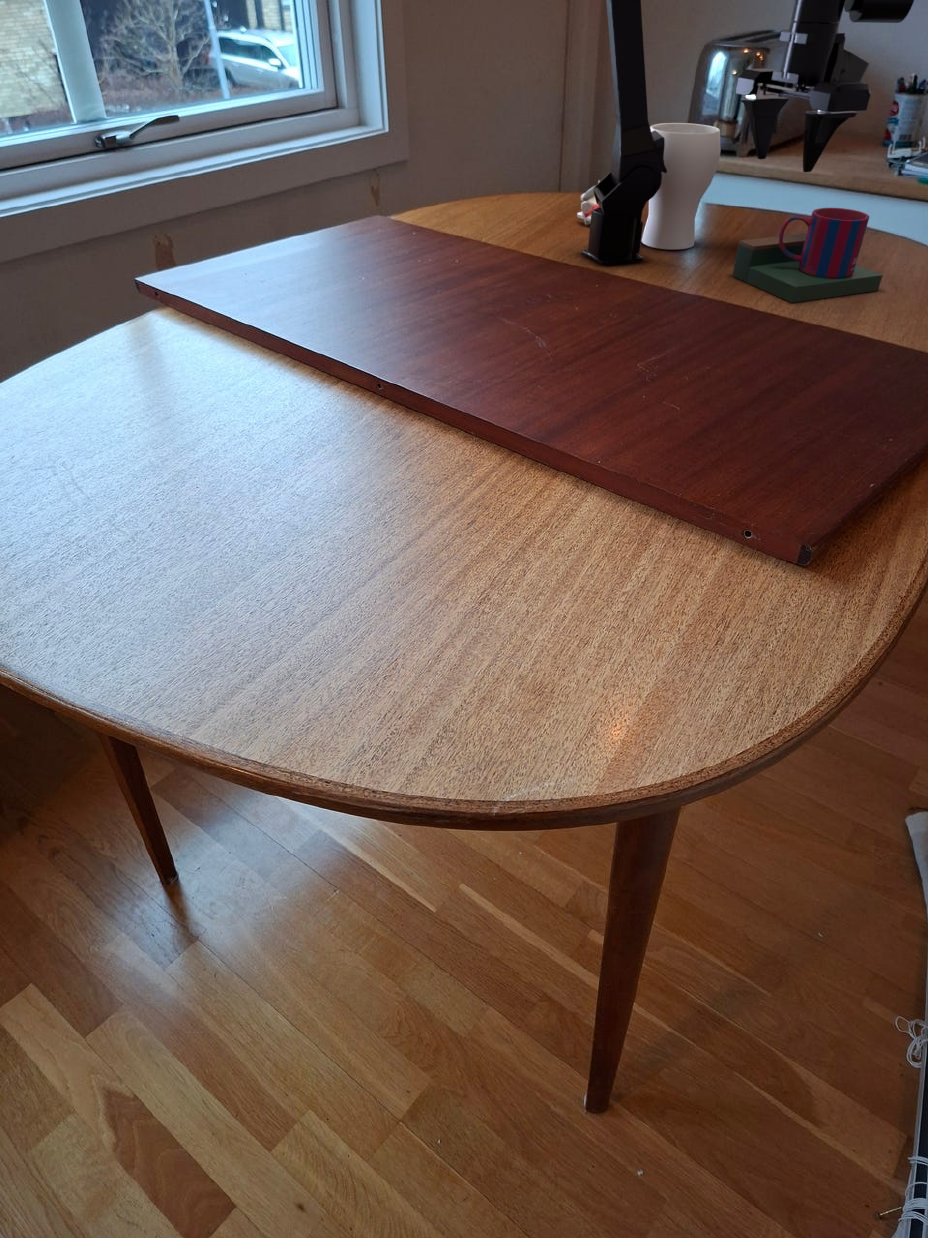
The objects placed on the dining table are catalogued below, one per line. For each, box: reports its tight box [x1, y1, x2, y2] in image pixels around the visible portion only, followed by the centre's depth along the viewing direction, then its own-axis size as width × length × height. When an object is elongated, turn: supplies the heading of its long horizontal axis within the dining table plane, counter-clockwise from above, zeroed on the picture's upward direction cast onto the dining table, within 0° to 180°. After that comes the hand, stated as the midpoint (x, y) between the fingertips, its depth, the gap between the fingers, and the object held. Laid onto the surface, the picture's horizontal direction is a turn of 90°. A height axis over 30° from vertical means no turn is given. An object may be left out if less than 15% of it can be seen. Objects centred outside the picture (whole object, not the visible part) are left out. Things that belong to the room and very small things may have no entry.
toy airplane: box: [576, 180, 601, 226], centre depth 133 cm, size 9×9×6 cm
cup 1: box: [641, 122, 722, 251], centre depth 122 cm, size 11×11×15 cm
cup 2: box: [778, 207, 870, 278], centre depth 107 cm, size 7×10×7 cm
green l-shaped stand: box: [732, 232, 883, 304], centre depth 110 cm, size 14×12×4 cm
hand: (783, 165), depth 113 cm, fingers open, 9 cm apart
